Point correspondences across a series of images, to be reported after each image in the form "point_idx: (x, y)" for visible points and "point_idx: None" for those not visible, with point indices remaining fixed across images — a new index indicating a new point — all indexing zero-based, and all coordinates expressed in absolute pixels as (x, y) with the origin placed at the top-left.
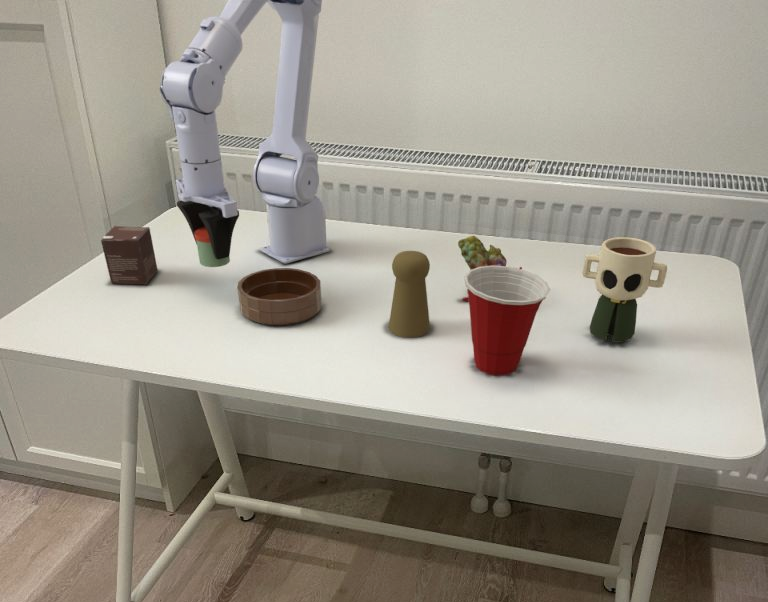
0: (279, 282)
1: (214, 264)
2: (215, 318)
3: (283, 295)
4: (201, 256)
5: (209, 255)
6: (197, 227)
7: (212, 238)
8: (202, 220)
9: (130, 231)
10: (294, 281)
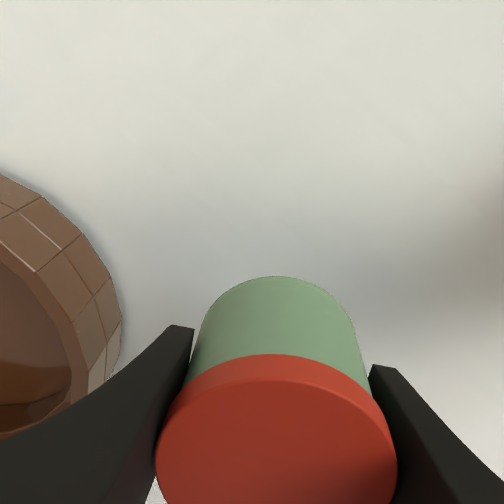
0: (57, 406)
1: (215, 307)
2: (72, 89)
3: (47, 370)
4: (283, 301)
5: (224, 322)
6: (412, 477)
7: (97, 391)
8: (79, 496)
9: None
10: None
